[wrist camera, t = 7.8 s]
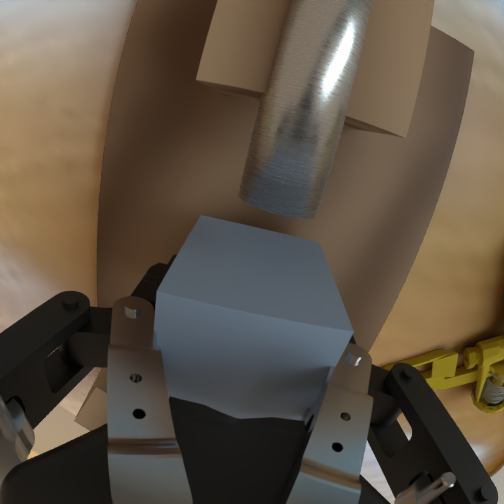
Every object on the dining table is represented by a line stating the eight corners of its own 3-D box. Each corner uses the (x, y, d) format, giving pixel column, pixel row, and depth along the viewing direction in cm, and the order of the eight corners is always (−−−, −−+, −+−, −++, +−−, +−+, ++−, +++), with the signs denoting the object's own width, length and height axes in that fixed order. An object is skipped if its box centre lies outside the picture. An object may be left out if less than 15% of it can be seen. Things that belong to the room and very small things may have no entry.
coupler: (318, 242, 13) (353, 331, 8) (286, 334, 15) (293, 436, 10) (201, 215, 13) (156, 291, 7) (184, 313, 15) (151, 411, 9)
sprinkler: (615, 245, 10) (556, 397, 15) (586, 225, 13) (541, 370, 19) (394, 267, 14) (370, 442, 20) (380, 237, 18) (367, 404, 23)
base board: (464, 53, 11) (539, 41, 5) (308, 433, 22) (313, 495, 17) (158, -31, 10) (108, -86, 5) (111, 391, 21) (84, 449, 16)
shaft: (370, -30, 7) (392, -57, 5) (311, 202, 10) (323, 226, 8) (302, -50, 7) (310, -84, 4) (241, 185, 10) (234, 204, 8)
